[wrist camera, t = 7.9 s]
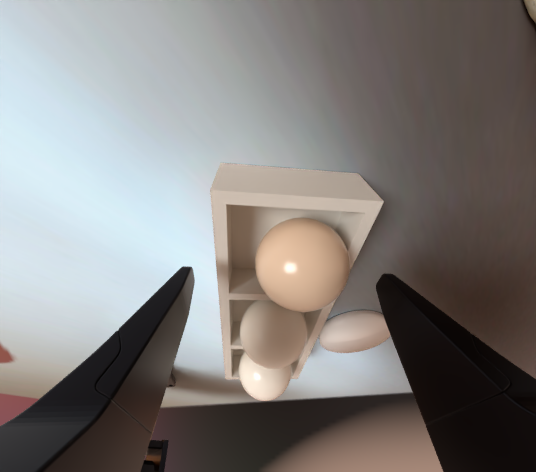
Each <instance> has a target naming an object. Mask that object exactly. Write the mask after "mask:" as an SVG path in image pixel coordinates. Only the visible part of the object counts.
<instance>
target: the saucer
mask: <svg viewBox="0 0 536 472" xmlns="http://www.w3.org/2000/svg"><path fill="white" fill-rule="evenodd" d="M389 336H390V332H389V330H388V327H387V325H386V322H385V319H384V316H383V314H381V313H379V312H375V311H369V310H359V311H351V312H347V313H343V314H340V315H337V316H335V317H333V318H331V319H329V320H328V321H326V322H325V323H324V326H323V328H322V330H321V332H320V334H319V340H320V344H321V346H322V347H323V348H325V349H326V350H329V351H332V352H337V353H352V352H359V351H363V350H367V349H370V348H373V347H375V346H377V345H379V344H381V343H383V342H384V341H385V340H387V339H388V338H389Z"/></svg>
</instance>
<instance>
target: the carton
mask: <svg viewBox="0 0 536 472" xmlns="http://www.w3.org/2000/svg"><path fill="white" fill-rule="evenodd" d="M210 193H211V206H212V218H213V230H214V243H215V255H216V267H217V280H218V292H219V305H220V317H221V329H222V342H223V354H224V367H225V379H240V376H239V364H240V360H241V357H242V355H243V353H244V349H243V346H242V343H241V339H240V325H241V321H242V318H243V316H244V313H245V312H246V310H247V309H248V308H249V306H250V305H251V304H253V303H254V302H255V301H257V300H269V301H272V300H271V299H270V298H269V297H268V296H267V295H266V293H265V292H264V290H263V289H262V287H261V285H260V283H259V281H258V278H257V275H256V269H255V258H256V253H257V249H258V246H259V244H260V242H261V240H262V239H263V237H264V236H265V235H266V233H267V232H268V231H269V230H270V229H271V228H273V227H274V226H275V225H277V224H279V223H280V222H283V221H285V220H288V219H292V218H301V217H304V218H311V219H316V220H318V221H321V222H323V223H325V224H326V225H328V226H330V227H331V228H332V229H333V230H334V231H335V232H337V234H338V235H339V236H340V237H341V239H342V240H343V242H344V244H345V246H346V248H347V251H348V254H349V260H350V270H351V268H352V266H353V264H354V262H355V260H356V258H357V256H358V254H359V252H360V250H361V248H362V246H363V244H364V242H365V240H366V237H367V235H368V233H369V231H370V229H371V227H372V225H373V223H374V221H375V219H376V217H377V215H378V213H379V211H380V209H381V207H382V205H383V203H384V201H383V200H382V199H381V198H380V197H379V196H378V195H377V193H376V192H375V191H374V190H373V189H372V188H371V187H370V186H369V185H368V184H367V183H366V182H365V180H364V179H363V178H362V177H361V176H360V175H359V174H358V173H346V172H333V171H320V170H308V169H295V168H282V167H269V166H257V165H244V164H231V163H220V165H219V168H218V171H217V173H216V176H215V179H214V181H213V184H212V187H211V189H210ZM349 272H350V271H349ZM336 299H337V298H336ZM336 299H335V300H334V301H333V302H332V303H330V304H329V305H327V306H325V307H323V308H321V309H318V310H315V311H309V312H302V314H303V316H304V319H305V322H306V326H307V340H306V344H305V347H304V349H303V351H302V353H301V355H300V356H299V357H298V358H297V360H296V361H294V362H293V363H292V364H291V378H290V379H298V377H299V375H300V373H301V371H302V369H303V366H304V364H305V362H306V360H307V358H308V356H309V354H310V352H311V350H312V348H313V346H314V344H315V342H316V340H317V338H318V336H319V334H320V332H321V330H322V328H323V326H324V323H325V321H326V319H327V317H328V315H329V313H330V311H331V309H332V307H333V305H334V303H335V301H336Z"/></svg>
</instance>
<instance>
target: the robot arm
mask: <svg viewBox="0 0 536 472" xmlns="http://www.w3.org/2000/svg"><path fill="white" fill-rule="evenodd" d="M193 288H194V274H193V269H192V267H181V268H180V269H179V270H178V271H177V272H176V273H175V274H174V275H173V276H172V277H171V278H170V279H169V280H168V281H167V282H166V283H165V284H164V285H163V286H162V287H161V288H160V289H159V290H158V291H157V292H156V293H155V294H154V295H153V296H152V297H151V298H150V299H149V300H148V301H147V302H146V303H145V304H144V305H143V306H142V307H141V308H140V309H139V310H138V311H137V312H136V313H135V314H134V315H133V316H131V317H130V318H129V319H128V320H127V321H126V322H125V323H124V324H123V325H122V326H121V327H120V328H119V331H116V332H115V333H114V334H113V335H112V336H111V337H110V338H109V339H108V340H107V341H106V342H105V343H104V344H103V345H102V346H101V347H99V348H98V349H97V350H96V351H95V352H94V353H93V354H92V355H91V356H90V357H88V358H87V359H86V360H85V361H84V362H83V363H82V364H80V365H79V366H78V367H77V368H76V369H75V370H73V371H72V372H71V373H70V374H69V375H67V376H66V377H65V378H64V379H63V380H62V381H60V382H59V383H58V384H57V385H56V386H54V387H53V388H52V389H51V390H50V391H48V392H47V393H46V394H45V395H44V396H43V397H41V398H40V399H39V400H38V401H37V402H35V403H34V404H33V405H32V406H30V407H29V408H28V409H26V410H25V411H24V412H22V413H21V414H19V415H18V416H16V417H15V418H13V419H12V420H10V421H8V422H7V423H5V424H3V425H1V426H0V472H164V468H165V461H166V455H167V448H168V440H162V441H156V440H151V438H152V434H153V431H154V427H155V423H156V420H157V416H158V413H159V410H160V406H161V403H162V400H163V397H164V393H165V390H166V387H174V386H175V383H176V381H175V379H174V377H173V375H172V373H171V371H172V367H173V364H174V361H175V358H176V354H177V351H178V348H179V345H180V341H181V338H182V335H183V332H184V328H185V325H186V322H187V318H188V315H189V310H190V304H191V299H192V293H193ZM376 291H377V294H378V298H379V302H380V305H381V309H382V313H383V316H384V319H385V322H386V325H387V327H388V330H389V332H390V335H391V337H392V340H393V343H394V345H395V348H396V350H397V353H398V355H399V358H400V361H401V363H402V366H403V368H404V371H405V373H406V376H407V379H408V381H409V384H410V386H411V389H412V391H413V394H414V396H415V399H416V402H417V404H418V407H419V409H420V412H421V415H422V417H423V420H424V422H425V424H426V428H427V430H428V433H429V435H430V438H431V441H432V443H433V446H434V448H435V451H436V454H437V456H438V459H439V461H440V464H441V466H442V469H443V472H536V379H535V378H533V377H532V376H530V375H529V374H527V373H526V372H524V371H523V370H522V369H520V368H519V367H517V366H516V365H514V364H513V363H511V362H510V361H508V360H507V359H506V358H504V357H503V356H501V355H500V354H498V353H497V352H496V351H494V350H493V349H492V348H490V347H489V346H488V345H486V344H485V343H483V342H482V341H481V340H479V339H478V338H477V337H475V336H474V335H473V334H471V333H470V332H469V331H467V330H466V329H465V328H464V327H462V326H461V325H460V324H458V323H457V322H456V321H454V320H453V319H452V318H450V317H449V316H448V315H446V314H445V313H444V312H442V311H441V310H440V309H438V308H437V307H436V306H434V305H433V304H432V303H430V302H429V301H428V300H426V299H425V298H424V297H423V296H421V295H420V294H419V293H417V292H416V291H415V290H413V289H412V288H411V287H409V286H408V285H407V284H405V283H404V282H403V281H401V280H400V279H399V278H397V277H396V276H395V275H393V274H383V275H382V276H381V278H380V279H379V281H378V282H377V284H376ZM145 455H147V457H146V460H144V459H145Z"/></svg>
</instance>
